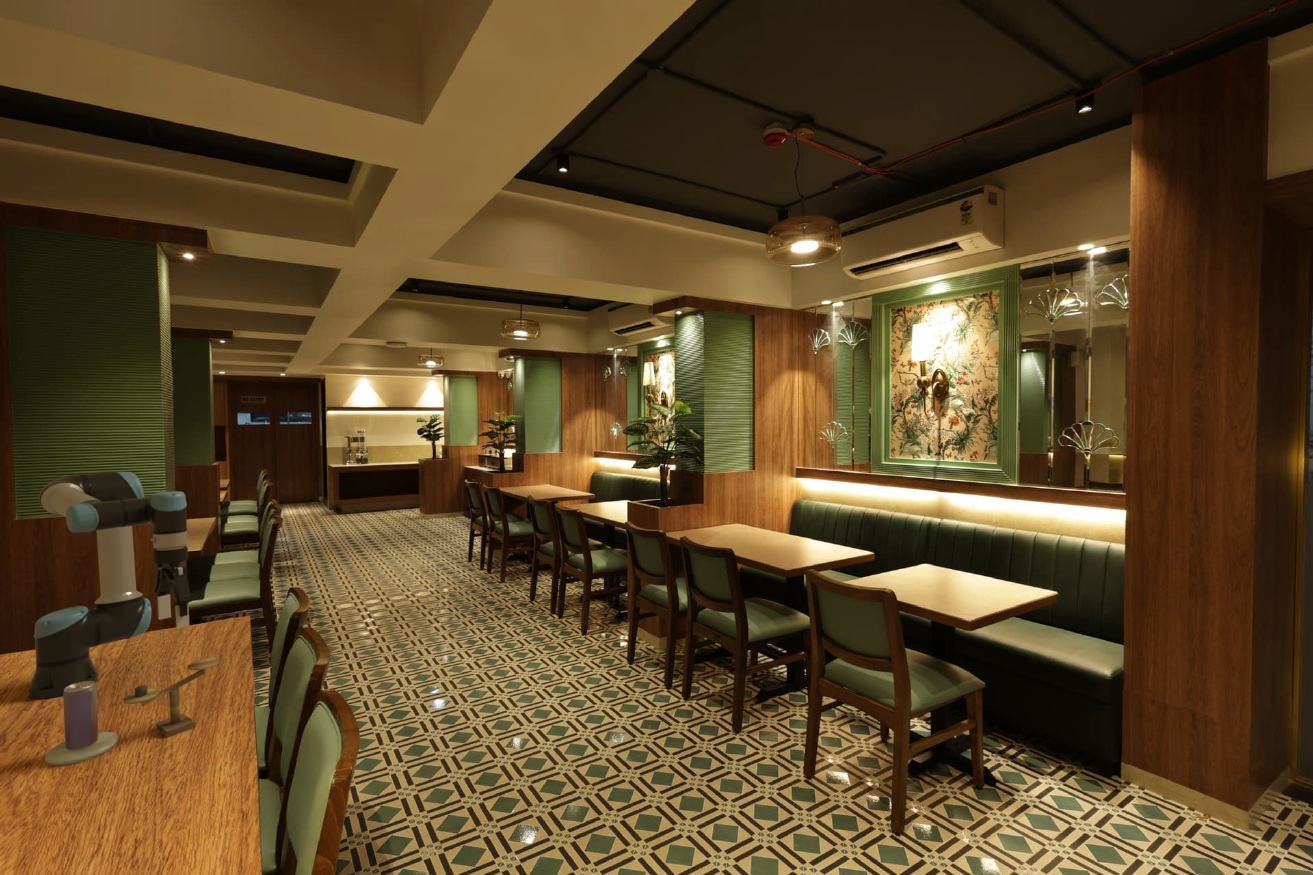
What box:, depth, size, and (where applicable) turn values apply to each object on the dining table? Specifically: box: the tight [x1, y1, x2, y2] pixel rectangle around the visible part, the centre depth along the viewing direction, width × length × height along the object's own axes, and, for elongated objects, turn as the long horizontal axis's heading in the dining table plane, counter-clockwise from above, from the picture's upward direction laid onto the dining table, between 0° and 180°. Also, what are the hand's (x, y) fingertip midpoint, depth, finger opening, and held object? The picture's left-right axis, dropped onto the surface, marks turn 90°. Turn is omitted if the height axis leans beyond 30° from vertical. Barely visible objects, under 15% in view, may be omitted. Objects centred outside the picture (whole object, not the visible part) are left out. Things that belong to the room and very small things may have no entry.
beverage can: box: [62, 681, 99, 751], centre depth 150 cm, size 6×6×15 cm
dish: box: [44, 731, 119, 767], centre depth 150 cm, size 13×13×1 cm
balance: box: [122, 657, 221, 738], centre depth 160 cm, size 8×21×15 cm, turn 145°
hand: (173, 622), depth 169 cm, fingers open, 13 cm apart
